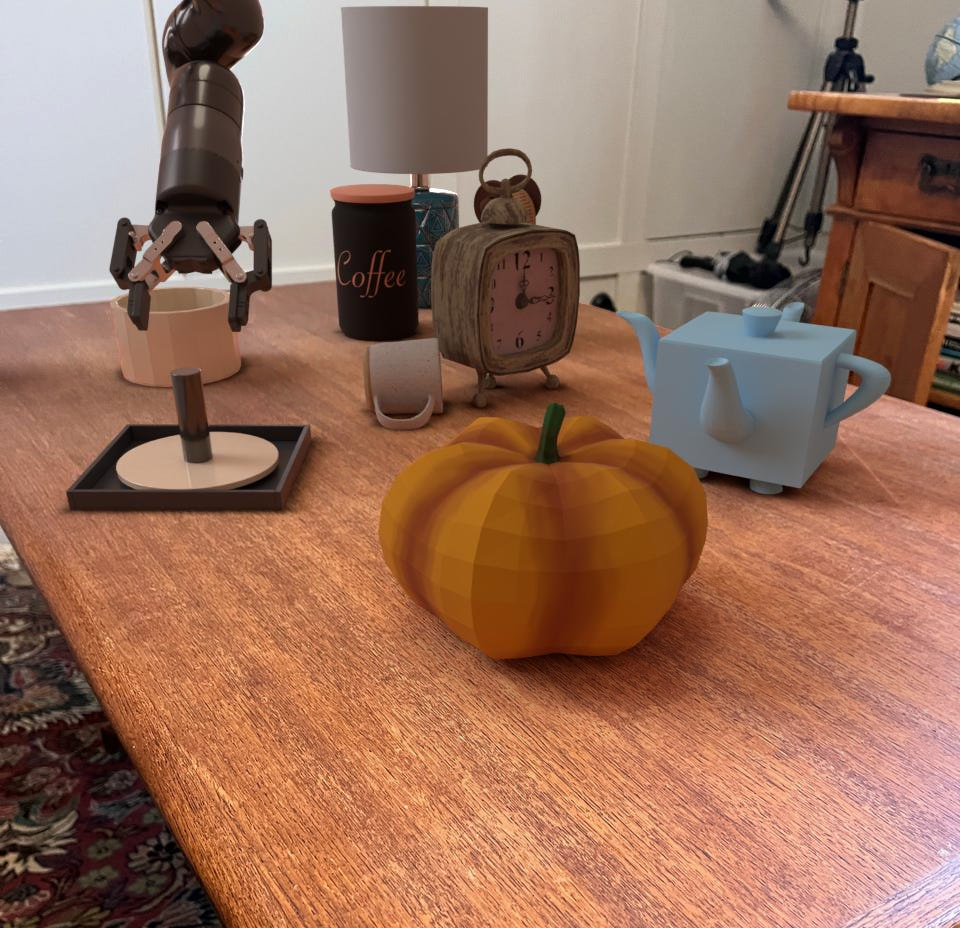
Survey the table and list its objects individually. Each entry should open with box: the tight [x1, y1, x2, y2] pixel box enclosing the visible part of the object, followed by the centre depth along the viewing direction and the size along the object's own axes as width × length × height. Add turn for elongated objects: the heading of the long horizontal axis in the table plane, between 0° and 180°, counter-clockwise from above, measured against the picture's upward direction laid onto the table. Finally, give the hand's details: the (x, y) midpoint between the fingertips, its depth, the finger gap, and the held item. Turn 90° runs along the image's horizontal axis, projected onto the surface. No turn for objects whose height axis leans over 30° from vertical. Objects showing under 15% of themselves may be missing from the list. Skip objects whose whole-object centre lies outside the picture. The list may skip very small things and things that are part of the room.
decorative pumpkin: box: [377, 401, 709, 660], centre depth 67 cm, size 20×22×15 cm
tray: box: [65, 423, 312, 512], centre depth 93 cm, size 18×17×2 cm
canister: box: [109, 286, 242, 388], centre depth 119 cm, size 14×14×8 cm
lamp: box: [340, 5, 489, 309], centre depth 142 cm, size 19×19×38 cm
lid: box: [116, 367, 279, 490], centre depth 90 cm, size 14×14×9 cm
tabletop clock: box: [431, 147, 581, 409], centre depth 108 cm, size 14×9×25 cm, turn 129°
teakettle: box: [615, 301, 892, 495], centre depth 91 cm, size 19×19×15 cm
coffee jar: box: [329, 183, 420, 342], centre depth 132 cm, size 11×11×18 cm
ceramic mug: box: [362, 337, 444, 431], centre depth 105 cm, size 11×8×8 cm
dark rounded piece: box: [473, 173, 542, 225], centre depth 127 cm, size 15×15×20 cm
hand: (187, 326), depth 91 cm, fingers open, 8 cm apart
